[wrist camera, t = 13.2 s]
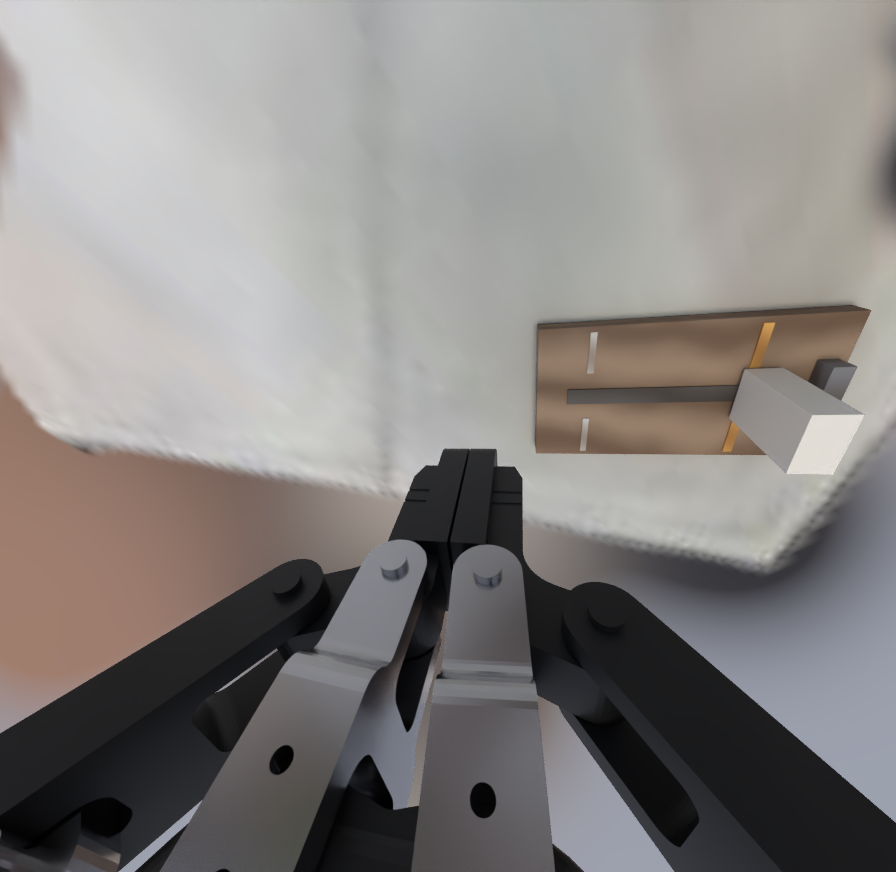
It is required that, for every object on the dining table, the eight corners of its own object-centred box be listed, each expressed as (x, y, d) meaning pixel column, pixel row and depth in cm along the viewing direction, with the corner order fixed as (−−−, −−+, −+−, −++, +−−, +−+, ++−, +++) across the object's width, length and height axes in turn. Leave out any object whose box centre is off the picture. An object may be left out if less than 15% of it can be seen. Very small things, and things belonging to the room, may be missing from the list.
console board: (537, 324, 36) (539, 335, 33) (852, 305, 31) (892, 315, 27) (535, 443, 43) (536, 463, 40) (791, 444, 38) (817, 466, 34)
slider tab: (744, 369, 33) (812, 415, 25) (783, 367, 32) (864, 414, 24) (728, 418, 35) (786, 473, 28) (764, 417, 35) (833, 474, 27)
